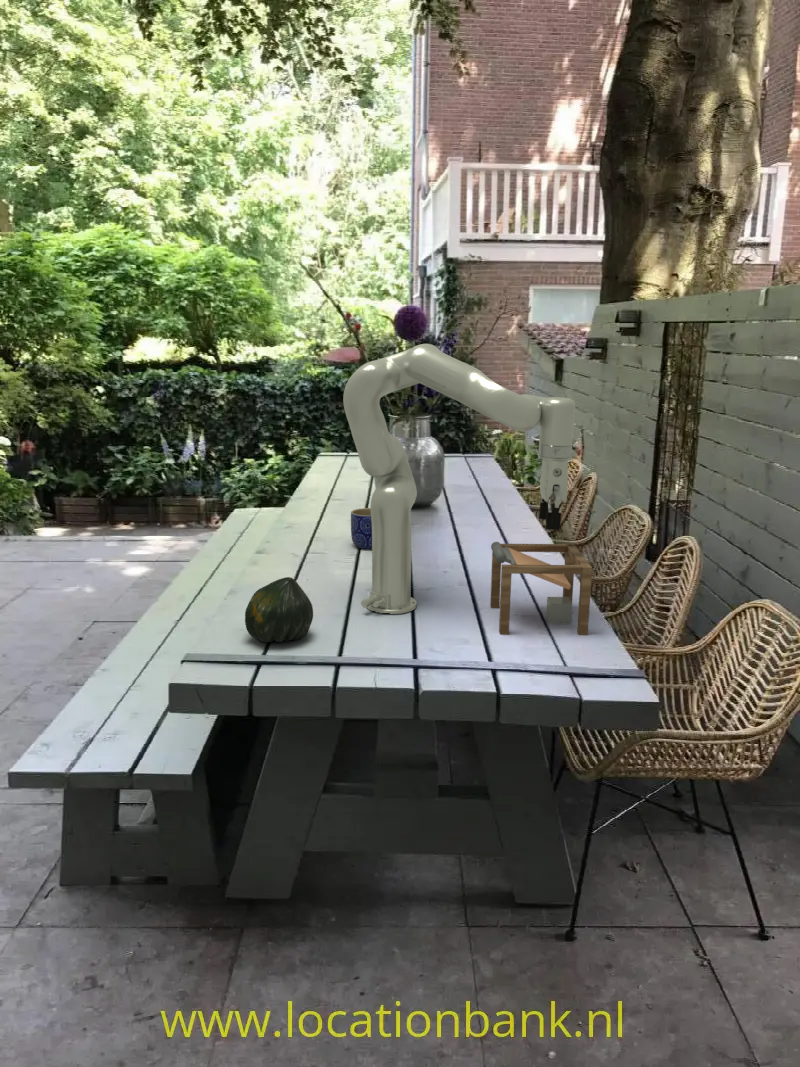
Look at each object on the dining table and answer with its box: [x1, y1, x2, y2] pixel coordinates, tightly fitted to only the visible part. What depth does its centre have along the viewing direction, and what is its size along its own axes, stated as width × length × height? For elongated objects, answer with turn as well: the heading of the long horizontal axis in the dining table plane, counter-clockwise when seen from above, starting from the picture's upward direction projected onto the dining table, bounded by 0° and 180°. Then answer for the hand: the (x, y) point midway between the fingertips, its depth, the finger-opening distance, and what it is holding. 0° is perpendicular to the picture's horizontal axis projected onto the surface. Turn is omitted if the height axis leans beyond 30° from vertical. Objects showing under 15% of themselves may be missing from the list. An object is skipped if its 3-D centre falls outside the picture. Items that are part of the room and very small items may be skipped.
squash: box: [244, 576, 314, 643], centre depth 192 cm, size 14×15×15 cm
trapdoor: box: [490, 541, 571, 589], centre depth 203 cm, size 14×18×2 cm
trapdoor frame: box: [490, 543, 593, 636], centre depth 205 cm, size 20×20×16 cm
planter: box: [350, 507, 372, 550], centre depth 267 cm, size 11×11×11 cm
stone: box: [545, 596, 573, 624], centre depth 206 cm, size 5×5×5 cm
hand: (549, 524), depth 203 cm, fingers open, 9 cm apart
